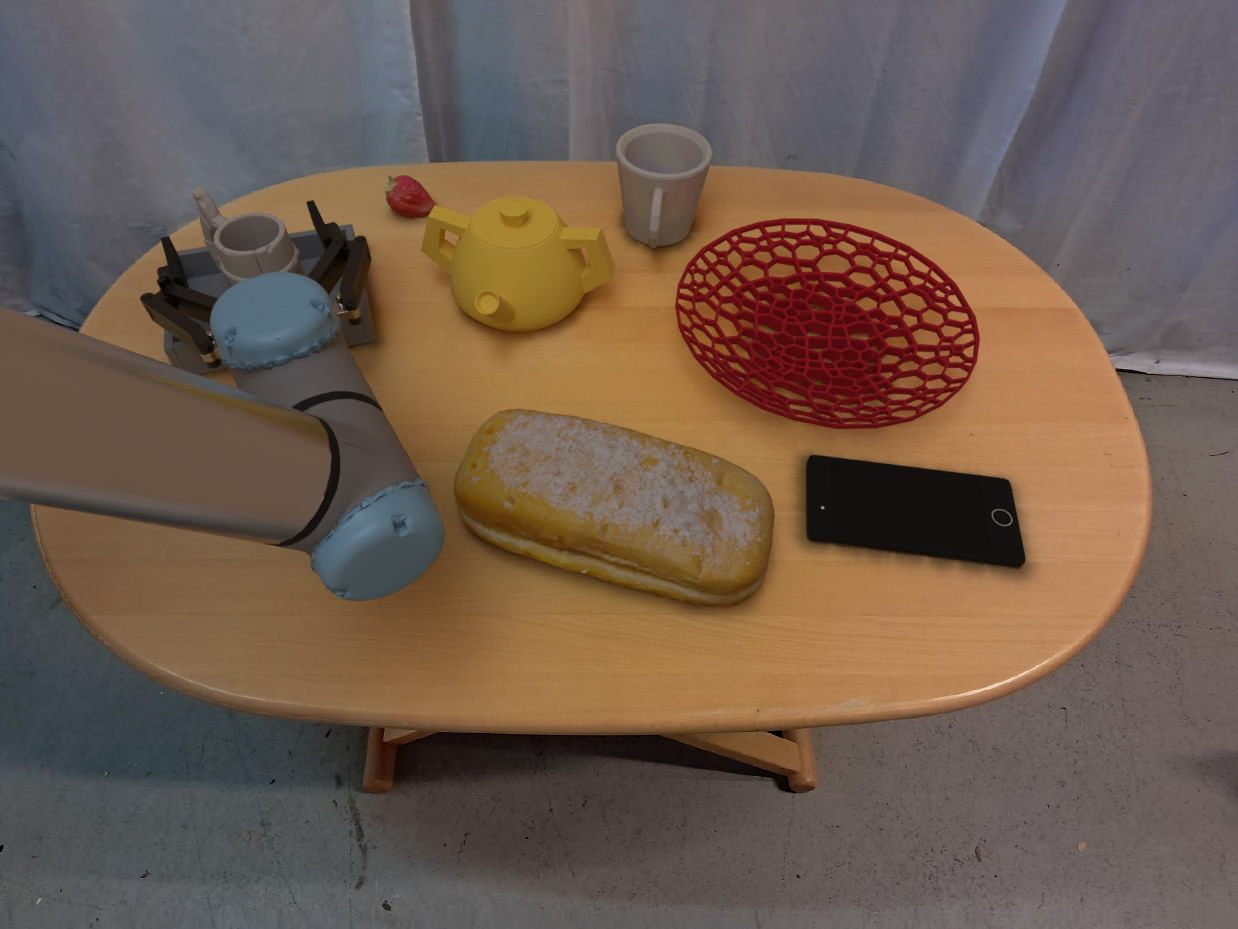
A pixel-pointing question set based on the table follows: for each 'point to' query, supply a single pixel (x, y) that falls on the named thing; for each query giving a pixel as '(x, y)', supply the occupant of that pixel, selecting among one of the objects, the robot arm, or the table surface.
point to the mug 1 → (246, 242)
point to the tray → (213, 283)
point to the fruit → (408, 197)
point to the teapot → (517, 262)
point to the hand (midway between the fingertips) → (243, 229)
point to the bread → (617, 506)
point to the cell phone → (912, 510)
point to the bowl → (824, 327)
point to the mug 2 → (661, 180)
